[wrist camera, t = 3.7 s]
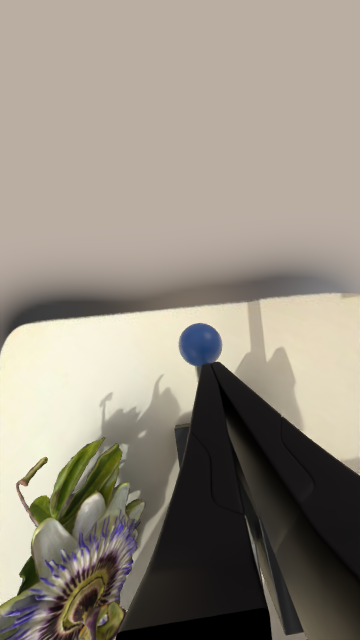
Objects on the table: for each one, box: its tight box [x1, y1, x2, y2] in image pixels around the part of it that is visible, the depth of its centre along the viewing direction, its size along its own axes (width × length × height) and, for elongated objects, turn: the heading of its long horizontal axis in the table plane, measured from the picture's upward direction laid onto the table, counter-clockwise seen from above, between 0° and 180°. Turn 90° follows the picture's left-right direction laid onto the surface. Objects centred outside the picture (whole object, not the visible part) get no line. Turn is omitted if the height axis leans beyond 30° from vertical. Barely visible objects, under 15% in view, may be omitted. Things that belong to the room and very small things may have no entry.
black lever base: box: [175, 423, 304, 635], centre depth 14 cm, size 10×7×10 cm
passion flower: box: [0, 437, 145, 640], centre depth 14 cm, size 11×11×12 cm
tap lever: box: [179, 323, 264, 591], centre depth 11 cm, size 15×3×3 cm, turn 9°
